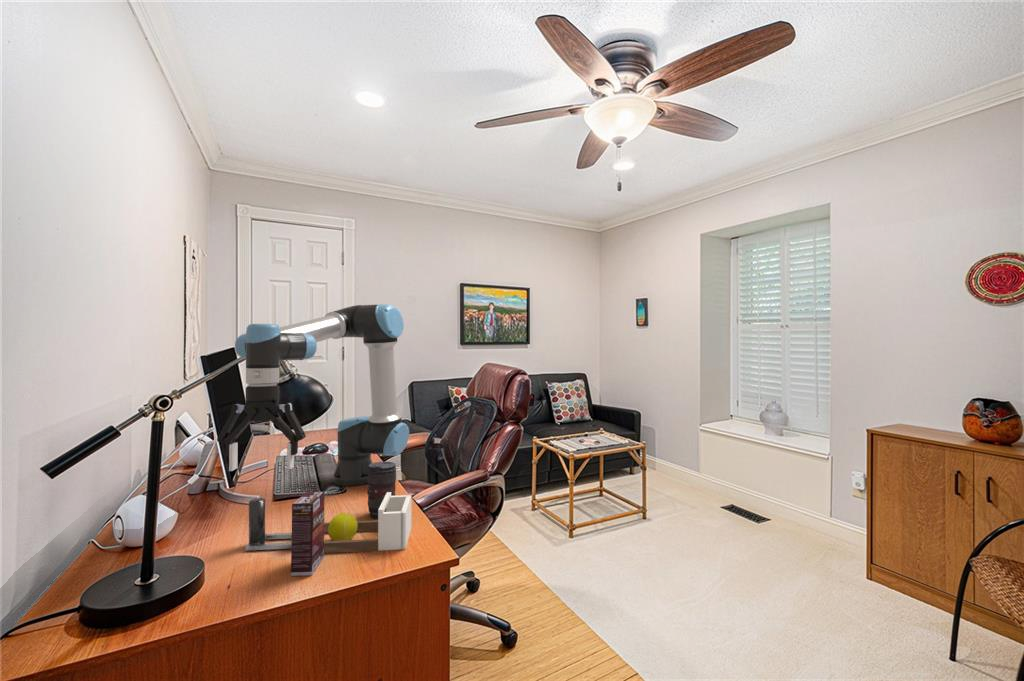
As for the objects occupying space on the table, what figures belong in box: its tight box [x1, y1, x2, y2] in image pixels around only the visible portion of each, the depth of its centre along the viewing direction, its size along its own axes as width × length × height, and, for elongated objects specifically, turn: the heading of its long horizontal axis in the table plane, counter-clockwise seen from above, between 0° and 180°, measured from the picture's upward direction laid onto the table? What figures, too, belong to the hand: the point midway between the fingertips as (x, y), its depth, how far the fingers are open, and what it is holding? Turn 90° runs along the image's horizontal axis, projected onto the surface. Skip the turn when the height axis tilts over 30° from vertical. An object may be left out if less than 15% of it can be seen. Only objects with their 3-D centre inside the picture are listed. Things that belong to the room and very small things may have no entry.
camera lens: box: [366, 461, 397, 520], centre depth 135 cm, size 8×8×15 cm
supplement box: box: [290, 491, 326, 577], centre depth 104 cm, size 9×5×16 cm, turn 5°
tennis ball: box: [327, 512, 358, 541], centre depth 117 cm, size 7×7×7 cm
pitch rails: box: [324, 519, 378, 554], centre depth 117 cm, size 13×17×2 cm
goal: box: [377, 492, 412, 552], centre depth 119 cm, size 13×7×10 cm, turn 6°
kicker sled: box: [245, 497, 292, 551], centre depth 115 cm, size 8×14×11 cm, turn 96°
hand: (262, 468), depth 115 cm, fingers open, 13 cm apart
